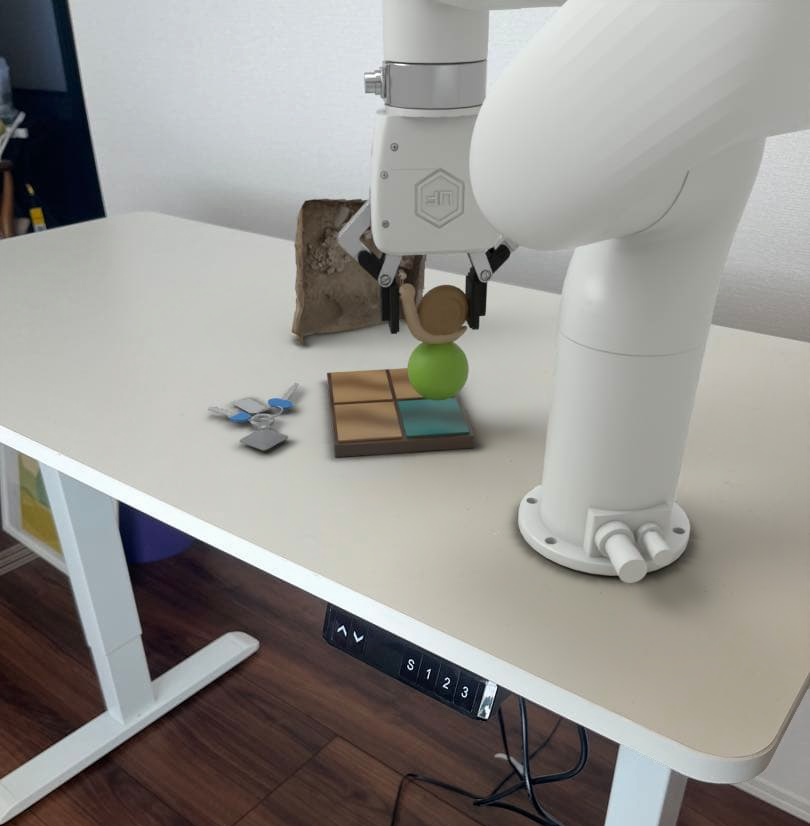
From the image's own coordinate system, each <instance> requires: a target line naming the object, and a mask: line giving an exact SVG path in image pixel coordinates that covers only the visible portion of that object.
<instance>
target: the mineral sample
mask: <svg viewBox="0 0 810 826" xmlns="http://www.w3.org/2000/svg"><path fill="white" fill-rule="evenodd" d="M367 200H368V199H362V198H355V199H346V198H339V199H335V198H319V199H317V198H313V199H308V200H304V202H303V203H302V205H301V207H300V209H299V212H298V213H297V217H296V230H295V236H294V243H293V244H294V255H295V256H294V257H295V266H296V273H295V274H296V275H295V282H294V283H295V285H294V290H295V295H296V298H295V311H294V313H293V314H294V315H293V320H292V324H291V325H292V326H291V333H292V334H294V335H296V337H297V339H298V341H299V343H300V345H302V346H304V338H303V337H304V336H306V335H309V334H317V335H318V334H326V333H328V334H329V333H338V332H343V331H349V330H350V331H351V330H355V329H356V330H357V329H360V328H364V327H368V326H371V325H374V324H381V323H387V321H381V316H380V286H379V283H378V281H377V280H376V279H374V278H373V277H372V276H371V275H370V274H369V273H368V272H367V271H366V270H365V269H364V268H363V267H362V266H361V265H360V264H359V263H358V262H357V261H356V260H355V259H354V258H353V257H352V256H351V255H349V254H348V253H347V252H346V251H345V250H344V249H343V248H342V247H341V246H340V245H339V243H338V239H337V235H338V233H339V232H340V231H341V230H342V228H343V227H344V226H345V225H346V224H347V223H348V222H349V221H350V219H351V218H352V217H353V216H354V215H355V214H356V213H357V212H358V210H359V209H360V208H361V207H362V206H363V205H364V204H365V202H366V201H367ZM359 240H360V241H361V242H362V243H363V244H364V245H365V246H366V247H367V248H369V249H370V250H371V251H372V252H373V253H374V254H375V255H376V256H377V257H378V258H379V257H380V254H381V251H380V250H379V249H378V248H377V247H376V245H375V243H374V240H373V235H372V231H371V225H370V226H369V227H368V228H367V230H366V231H365V232H364V233H363V234H362V235H361V237H360V239H359ZM426 261H427V255H403V256H402V259H401V261H400V264H399V266H398V269H397V271H396V274H395V278H396V282H397V284H398V287H399V288H400V286H401V285H402V279H401V285H400V276H399V275H398V270H400V269H402V270H403V271H404V273H406V275H407V276H406V278H405V279H403V284H406V283H408V284H411V285H412V286H413V287H414V288H415V297H414V302H415V306H416V310H417V309H418V305H419V303H420V301H421V299H422V298H423V296H424V295H423V294H424V290H425V271H426ZM399 321H405V317H404V313H403V309H402V302H401V299H400V297H399Z"/></svg>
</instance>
